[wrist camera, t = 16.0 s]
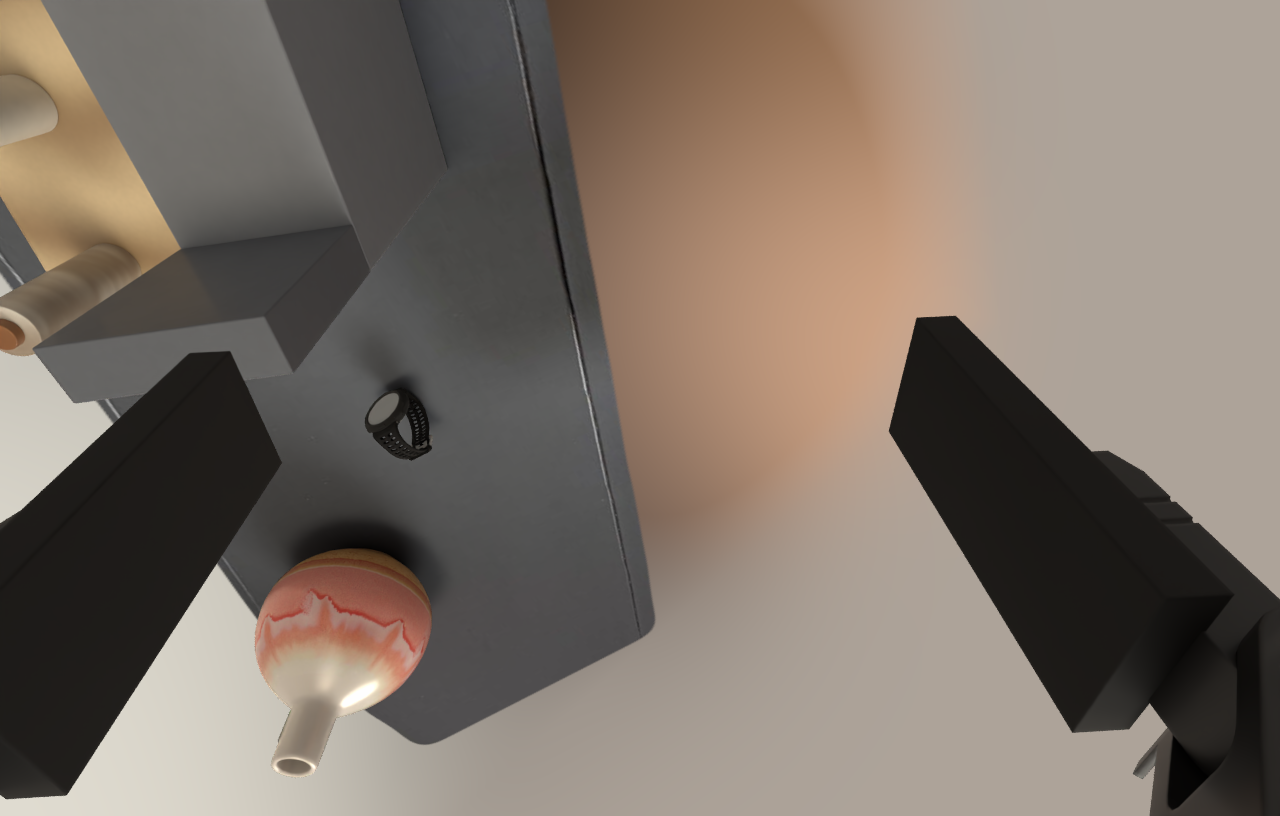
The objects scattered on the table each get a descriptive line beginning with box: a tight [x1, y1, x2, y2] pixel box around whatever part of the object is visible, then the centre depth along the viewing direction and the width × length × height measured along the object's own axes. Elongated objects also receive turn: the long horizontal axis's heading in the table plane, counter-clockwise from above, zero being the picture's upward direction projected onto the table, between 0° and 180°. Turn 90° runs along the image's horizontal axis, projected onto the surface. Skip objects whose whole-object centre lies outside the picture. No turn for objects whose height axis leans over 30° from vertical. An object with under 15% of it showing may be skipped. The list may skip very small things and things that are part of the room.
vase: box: [255, 548, 432, 777], centre depth 52 cm, size 14×14×18 cm
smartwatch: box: [365, 388, 433, 461], centre depth 47 cm, size 4×5×5 cm
